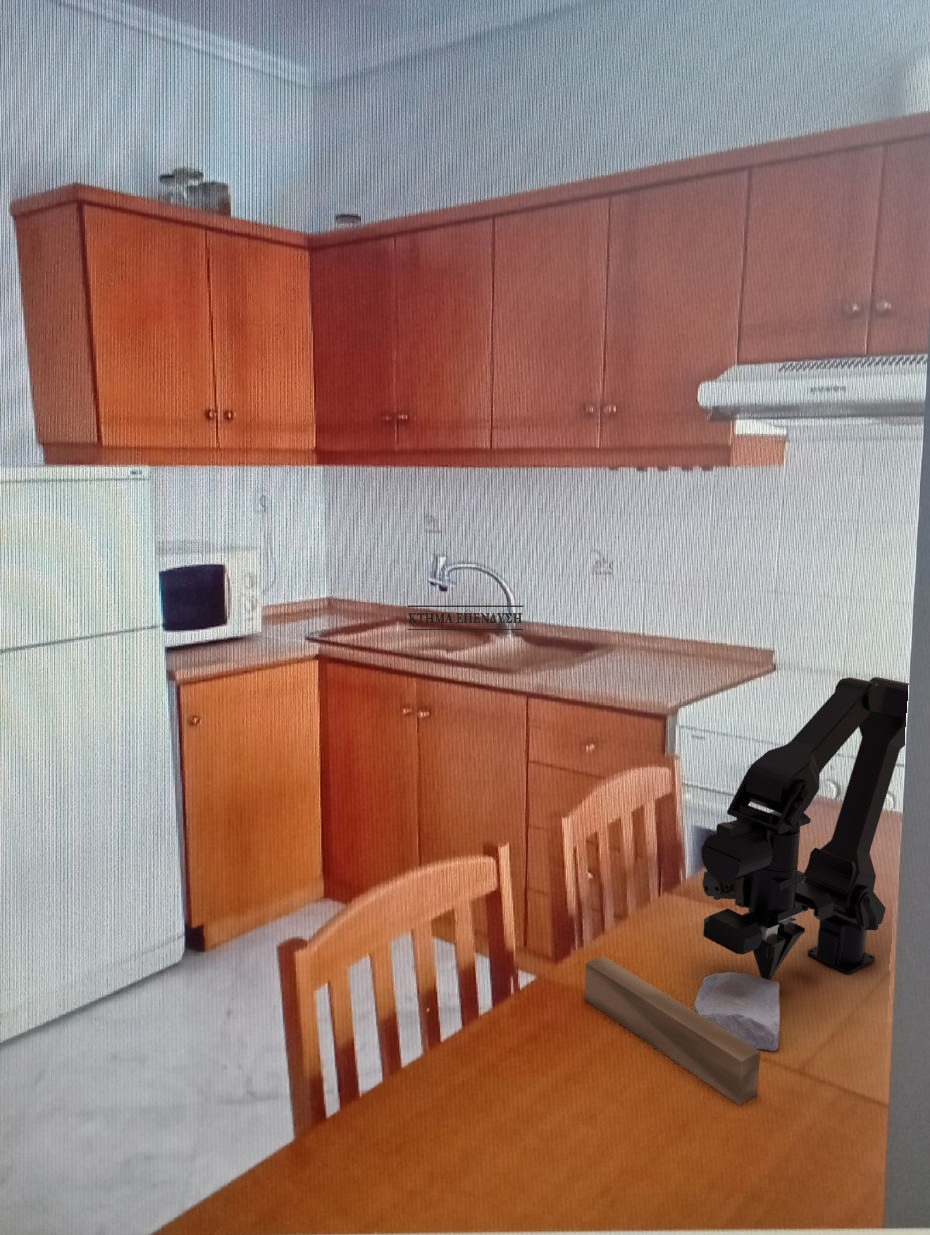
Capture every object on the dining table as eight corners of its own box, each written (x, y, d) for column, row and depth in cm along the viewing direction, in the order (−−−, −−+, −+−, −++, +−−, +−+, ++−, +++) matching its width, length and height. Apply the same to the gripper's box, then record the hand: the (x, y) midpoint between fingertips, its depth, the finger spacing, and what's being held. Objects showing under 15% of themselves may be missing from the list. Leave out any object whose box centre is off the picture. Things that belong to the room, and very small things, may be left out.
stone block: (697, 1056, 110) (786, 1055, 107) (690, 1016, 110) (779, 1015, 107) (702, 1005, 122) (783, 1003, 119) (696, 969, 121) (777, 966, 118)
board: (602, 992, 120) (603, 955, 119) (757, 1094, 101) (760, 1051, 100) (584, 999, 118) (585, 962, 118) (739, 1105, 99) (741, 1061, 98)
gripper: (767, 826, 129) (760, 932, 131) (672, 856, 118) (667, 972, 121) (840, 853, 120) (831, 967, 122) (744, 889, 109) (737, 1013, 112)
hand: (765, 978), depth 120 cm, fingers closed
